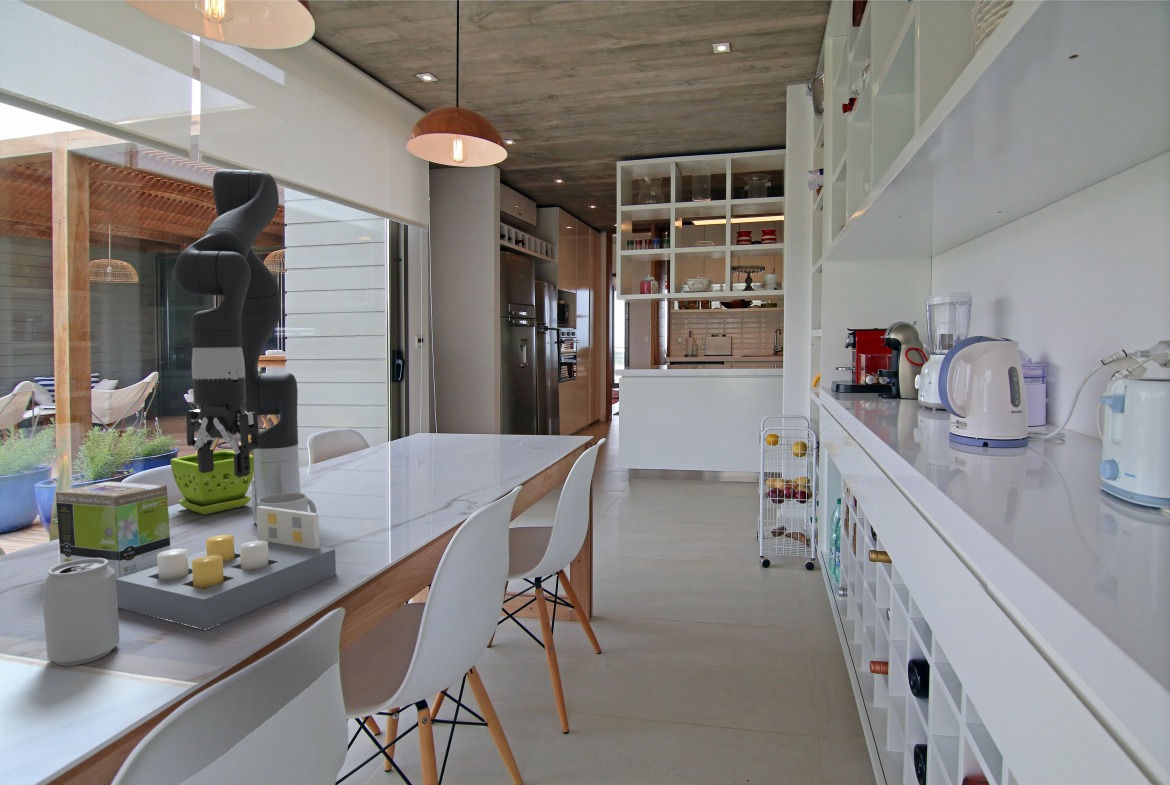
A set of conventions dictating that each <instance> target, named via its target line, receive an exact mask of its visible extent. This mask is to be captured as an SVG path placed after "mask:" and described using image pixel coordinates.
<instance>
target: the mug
mask: <svg viewBox="0 0 1170 785" xmlns="http://www.w3.org/2000/svg"><path fill="white" fill-rule="evenodd" d="M259 506H266V507H273V508H281V509H288V510H295V511H303V512H309V511H310V513H317V514H318V512H317V507H316V504H315V502H314V501H313V500H312V499H311V498H308V495H307V494H305V493H302V492H301V493H280V494H273V495H268V496H264V497H262V498H259V499H258V500H257V507H259ZM308 508H309V509H308Z"/></svg>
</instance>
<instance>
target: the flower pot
mask: <svg viewBox="0 0 1170 785" xmlns="http://www.w3.org/2000/svg"><path fill="white" fill-rule="evenodd" d="M234 454H235V452H234V451H233V450H218V451H213V458H214V470H213V471H212V472H207V473H201V472H199V467H198V453H196V454H191V455H186V456H179V457H174V458H171V459H170V466H171V472H172V475H173V479H174V481H175V484H176V487H177V489H178V490H179V492H180V493H181V495H182V496H183V498H182V499H179V500H178V504H179V505H180V506H181V507H182V508H184V509H187V511H192V512H195V513H198V514H201V515H203V516H205V515H209V514H213V513H218V512H223V511H228V510H233V509H236V508H244V506H246V505H247V504H248V503H249V502H250V501H252V496H250V495H246V494H247V492H248V491H249V488H250V487H251V482H252V480H253V478H254V468H253V454H250V473H249V475H247V476H243V477H236V476H235V471H234Z"/></svg>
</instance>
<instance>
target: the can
mask: <svg viewBox="0 0 1170 785" xmlns="http://www.w3.org/2000/svg"><path fill="white" fill-rule="evenodd" d="M107 564H108V560H106V559H103V558H86V559H79V560H74V561H69V562H65V563H62V564H61V563H58V564H56V565H53V566H52V567H51V568H49V569H48V570H47V571H46V573H47V574H48V575H47V577H46V578H45V579H44V580H43V581H42V583H41V595H42V607H43V619H44V634H45V644H46V657H47V659H48V660H49V661H51V662H53V663H56V664H57V665H60V666H65V667H66V666H68V667H69V666H78V665H83V664H87V663H90V662H94V661H97V660H99V659H102V658H104V657H106V656H107V655H109V654H110V653H111V652H112V651H113V650H114V648H115V647H116V646H117V645H119V643H120V624H119V611H118V610H119V608H118V604H117V590H116V579H115V570H114V569H112V568H111V567H109V566H108V565H107ZM112 649H113V650H112ZM111 650H112V651H111ZM101 657H102V658H101Z"/></svg>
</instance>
